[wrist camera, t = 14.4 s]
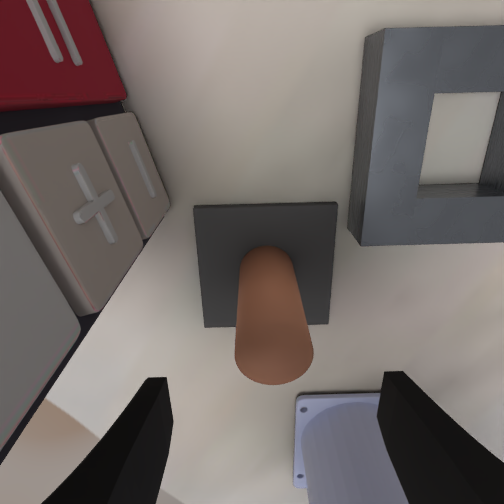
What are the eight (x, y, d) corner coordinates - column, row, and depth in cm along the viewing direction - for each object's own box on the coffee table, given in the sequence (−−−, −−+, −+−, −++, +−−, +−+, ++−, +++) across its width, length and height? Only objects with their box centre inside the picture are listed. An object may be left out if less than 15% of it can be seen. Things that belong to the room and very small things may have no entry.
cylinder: (293, 292, 20) (312, 383, 14) (241, 294, 20) (236, 386, 14) (293, 244, 19) (314, 321, 13) (238, 246, 19) (232, 324, 13)
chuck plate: (510, 223, 19) (545, 241, 17) (347, 227, 19) (360, 246, 17) (567, 32, 16) (622, 22, 13) (365, 37, 16) (385, 28, 13)
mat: (326, 319, 22) (328, 324, 21) (205, 322, 22) (204, 327, 21) (335, 201, 19) (337, 204, 18) (194, 205, 19) (193, 208, 18)
